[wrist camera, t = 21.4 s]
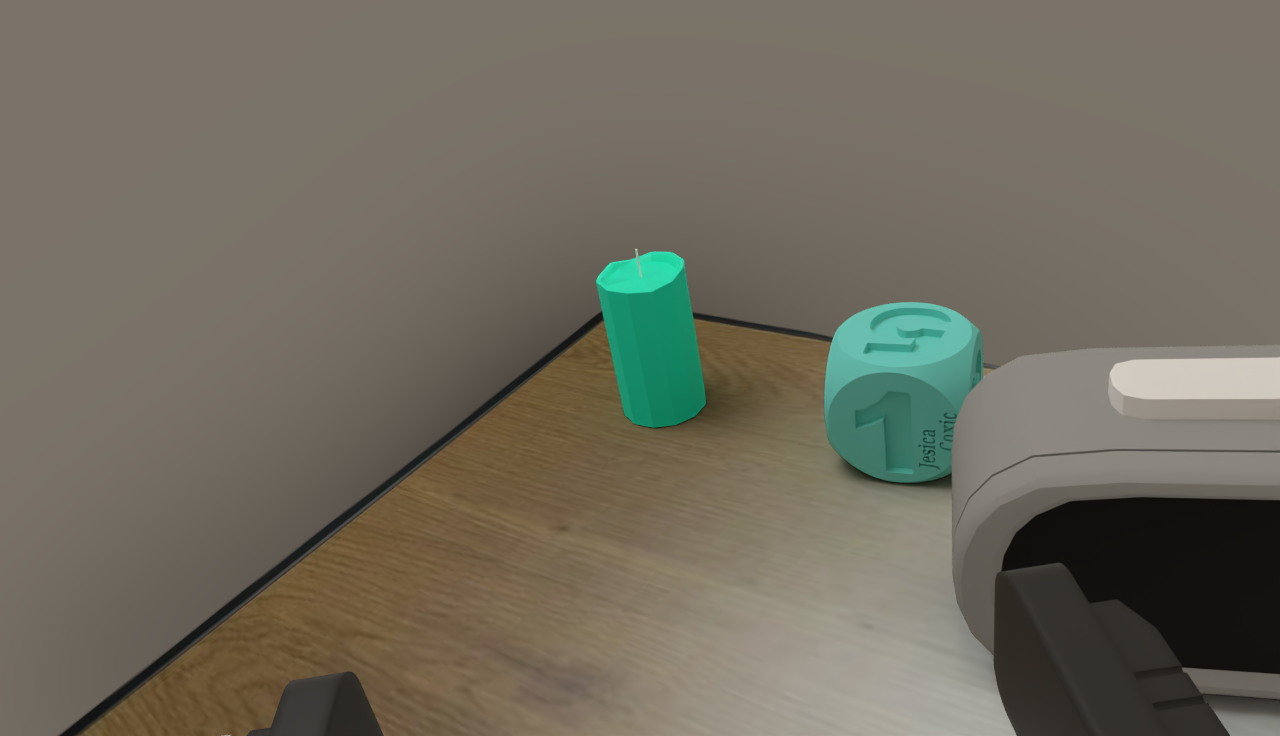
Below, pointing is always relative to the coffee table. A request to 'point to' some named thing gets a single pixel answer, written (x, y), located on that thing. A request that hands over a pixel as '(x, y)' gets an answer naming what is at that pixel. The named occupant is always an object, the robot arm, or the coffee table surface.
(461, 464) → the coffee table surface
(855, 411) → the decorative dice
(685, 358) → the candle
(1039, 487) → the alarm clock
